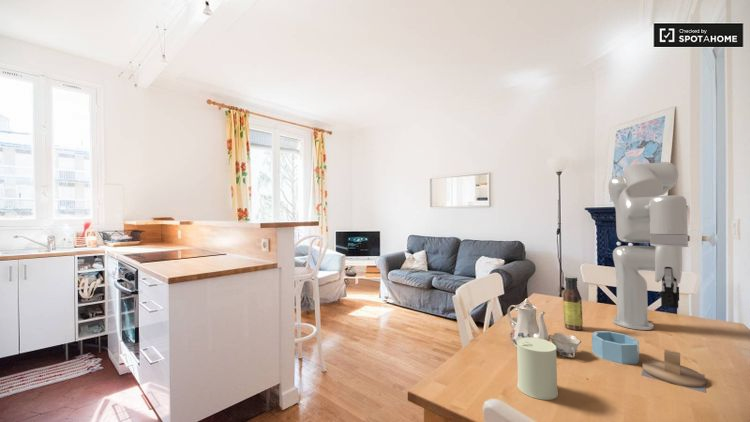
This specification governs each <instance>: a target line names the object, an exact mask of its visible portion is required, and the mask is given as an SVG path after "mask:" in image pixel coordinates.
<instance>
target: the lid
mask: <svg viewBox="0 0 750 422" xmlns="http://www.w3.org/2000/svg"><path fill="white" fill-rule="evenodd" d="M663 353H664V354H663V355H664V356H663V359H664V361H662V360H645V361H644V362H642V371H643V370H644V371H645V372H646V373H647V374H649V375H651V376H653V377H655V378H657V379H659V380H658V381H661V380H662V382H664V381H665V383H668V384H671V385H672V384H673V385H675V386H679V385H680V387H683V386H686V387H703V386H705V387H706V385H707V378H706V376H705V375H704V376H703V375H702V373H700V372H698V371H696V370H695V369H692V368H690V367H687V366H684V365H681V352H680V351H674V350H671V349H664V352H663ZM657 379H656V380H657ZM686 387H685V388H686Z"/></svg>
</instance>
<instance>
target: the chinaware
mask: <svg viewBox="0 0 750 422" xmlns="http://www.w3.org/2000/svg"><path fill="white" fill-rule="evenodd" d="M512 307H514V308H515V311H516V312H517V317H512V316H511V308H512ZM506 310H507V311H506V313H507V316H508V319H509V320H510V326H511V328H513V329H512V330H511V332H510V334H509V338H510V340H511V341H512V342H513V346H514V347H515V348H516V349H517V340H518V339H519V338H524V337H533V338H539V339H543V340H547V341H549V340H551V343H553V344H554V345H555V346H556V347H557V350H556V352H557V351H558V352H559V354H558V355H559V356H562V357H568V358H575V356H576V351H577V349H578V348H579V345H580V344H581V343H582V341H581V340H579V339H578V337H576V336H575V335H570V334H568V335H565V334H563V333H561V332H557V333H554V334H549V333H548V330H547V326H546V324H545V323H546V322H545V319H544V316H545V314H546V311H541V312H540V313H539V314H538V319H537V310H538V307H537V306H534V305H533V304H532V303H531V302H530V301H529V299H528V298H525V299H524V300H523V302H521V304H515V305H514V304H512V305H510V306H509V307H508V308H507V309H506ZM537 320H538V322H537Z"/></svg>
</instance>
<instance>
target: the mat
mask: <svg viewBox="0 0 750 422" xmlns="http://www.w3.org/2000/svg"><path fill="white" fill-rule="evenodd" d="M701 374H702V373H701ZM702 375H703V376H704V377H705V374H702ZM641 376H643V377H646V378H650V379H653V380H657V381H660V382H661V381H662V380H659V379H657V378H655V377H653V376H651V375H649V374H647V373H646V372H645V371H644V370H643V369H642V370H641ZM662 382H665V381H662ZM665 383H666V382H665ZM678 386H680V385H678ZM680 387H681V386H680ZM682 387H683V388H687V389H691V390H694V391H698V392H701V393H706V392H707V391H706V385H705V386H703V387H686V386H682Z"/></svg>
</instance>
